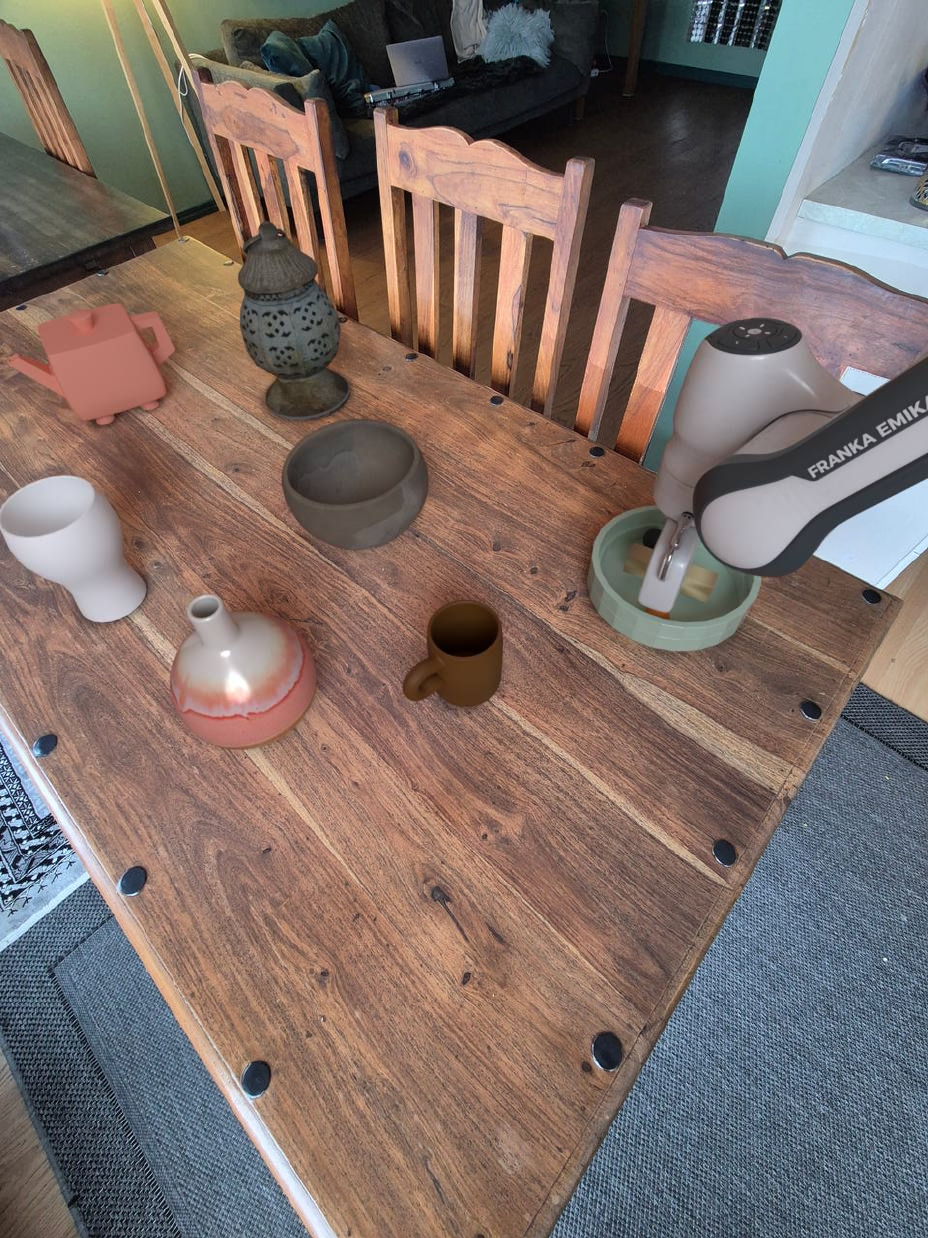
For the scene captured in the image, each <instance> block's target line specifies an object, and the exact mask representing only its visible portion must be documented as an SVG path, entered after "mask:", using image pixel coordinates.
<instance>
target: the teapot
mask: <svg viewBox="0 0 928 1238" xmlns="http://www.w3.org/2000/svg"><path fill="white" fill-rule="evenodd" d="M150 327H151V330H152V332H153V335H154V337H155V341H154V342H153V343H151V344H150V345H149V346H148V344H147V342H146V340H145V338H144V337H143V335H142V333H141V332H140V331H142V330H144V329H147V328H150ZM37 332H38V335H39V338H40V341H41V344H42V347H43V349H44V352H45V355H46V358H47V360H48V363H49V365H48V364H46V363H43V362H40V361H38V360H35V359H33V358H30V357H27V356H24V355H22V354H19V352H16V353H14V354H12V355H11V356H9V357H7V358H6V359H5V360H6V363H7V365H8V366H10V367H11V368H13V369H15V370H16V371H18V372H20V373H22V374H23V375H25V376H27V377H28V378H30V379H32V380H34V381H35V382H36V383H39V384H40V385H42V386H44V387H45V388H47V389H49V390H50V391H53V392H54V393H56V394H58V395H59V396H61V397H64V398H65V400H66V402H67V404H68V406H69V407H70V409H71V410H72V412H74V414H75V415H76V416H77V417H78V418H79V419H80V420H81V421H82V422H86V421H88V422H89V421H92V420H93V421H94V420H95V422H96V424H97V425H100V426H103V425H108V424H111V423H112V422H114V421H115V419H116V415H115V414H118V413H121V412H125V411H128V410H131V409H134V408H138V407H140V408H141V409H142V410H143V411H153V410H155V409H157V408H158V407H159V405H160V401H159V399H161V398H163V397H165V396H167V395H168V393H167V387H166V382H165V379H164V376H163V374H162V372H161V370H160V367H159V366H160V365H162V364H163V362H165V361H166V360H167V359H168V358H169V357H170V356H171V355H172V353H174V352H175V351H176V348H175V346H174V344H173V342H172V340H171V338H170V336H169V333H168V332H167V330H166V327H165V326H164V323H163V322H162V319H161V318H160V315H159V313H158V312H157V310H153V311H149V312H144V313H139V314H133V315H130V314H129V313H128V311H127V310H126V308H125V306H124V305H123V304H122V303H120V302H118V303H111V304H107V305H102V306H97V307H94V308H90V309H79V310H78V309H77V310H75V311H72V312H71V313H69V314H67V315H64V316H60V317H57V318H53V319H50V320H47V321H45V322H41V323H39V324H38V325H37Z"/></svg>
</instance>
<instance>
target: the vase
mask: <svg viewBox="0 0 928 1238" xmlns="http://www.w3.org/2000/svg"><path fill="white" fill-rule="evenodd" d="M186 616H187V618H188V619H189V622H190V624H191V625H192V627H193V630H192V631H191V632H190V633H189V634H188V635H187V636H186V638H185V639H184V640H183V642H182V643H181V644H180V646H179V648H178V650H176V651H177V652H176V653H175V655H174V658H173V661H172V664H171V667H170V673H169V691H170V696H171V700H172V704H173V706H174V709H175V710H176V714H177V716H178V717H179V719H180V721H181V722H182V723H183V724H184V726H185V727H186V728H187V729H188V730H189V731H190V732H191V733H192V734H193V735H194V736H195V737H196V738H198V739H200V740H201V741H203V742H205V743H206V744H209V745H211V746H214V747H216V748H220V749H225V750H232V751H245V750H254V749H258V748H262V747H265V746H267V745H270V744H273V743H274V742H277V741H278V740H280V739H282V738H284V737H285V736H286V735H287V734H289V733H291V732H292V731H293V730H294V729H295V728H296V727H297V726H298V725H299V724H300V723H301V721H302V720H303V719H304V718H305V716H306V715H307V713H308V711H309V709H310V708H311V706H312V703H313V701H314V698H315V694H316V690H317V684H318V673H317V667H316V662H315V658H314V656H313V653H312V650H311V649H310V647H309V645H308V644H307V642H306V640H305V638H303V637H302V636H301V635H300V633H299V632H297V630H296V629H295V628H293V626H291V625H290V624H288V623H287V622H285V621H284V620H282V619H280V618H278V617H276V616H274V615H271V614H268V613H264V612H260V611H254V610H236V611H230V610H229V609H228V607H227V605H226V603H225V601H224V600H223V599H222V597H220V596H219V595H217V594H215V593H203V594H200V595H197V596H196V597H194V598H193V599H192V600H190V602H189V604H188V605H187V608H186Z"/></svg>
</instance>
